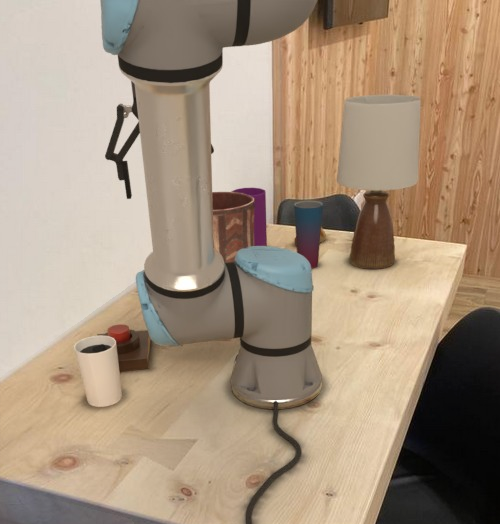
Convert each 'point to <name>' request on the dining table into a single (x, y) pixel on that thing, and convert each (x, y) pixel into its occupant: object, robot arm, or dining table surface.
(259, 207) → the mug
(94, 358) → the white coffee cup
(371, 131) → the lamp
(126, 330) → the lamp switch
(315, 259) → the cup
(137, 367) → the switch box
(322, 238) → the pastry
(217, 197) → the pottery
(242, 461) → the dining table surface
